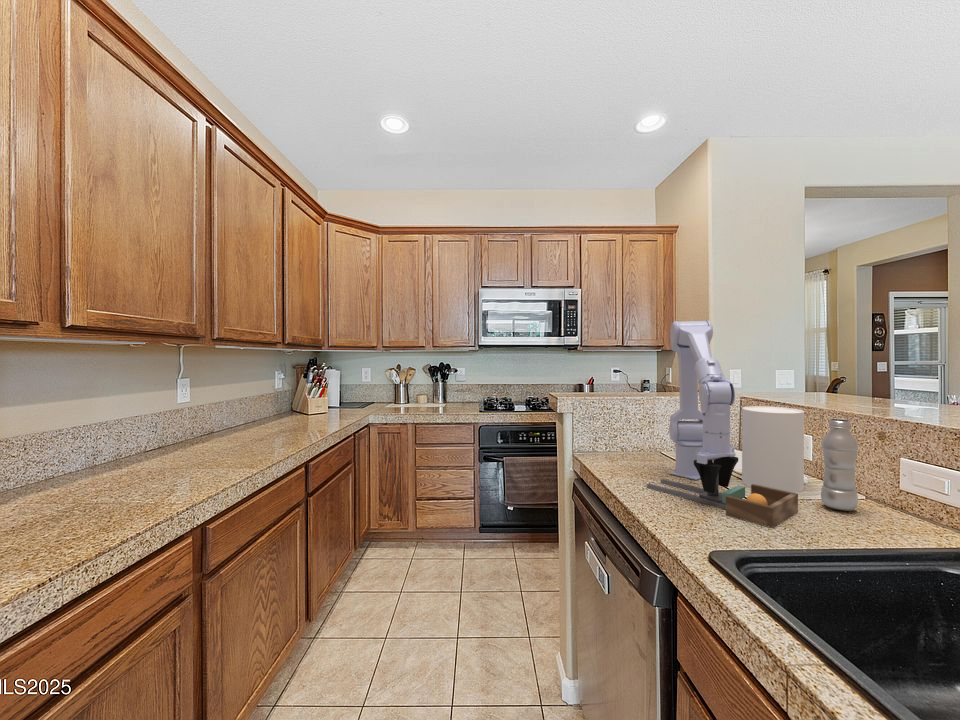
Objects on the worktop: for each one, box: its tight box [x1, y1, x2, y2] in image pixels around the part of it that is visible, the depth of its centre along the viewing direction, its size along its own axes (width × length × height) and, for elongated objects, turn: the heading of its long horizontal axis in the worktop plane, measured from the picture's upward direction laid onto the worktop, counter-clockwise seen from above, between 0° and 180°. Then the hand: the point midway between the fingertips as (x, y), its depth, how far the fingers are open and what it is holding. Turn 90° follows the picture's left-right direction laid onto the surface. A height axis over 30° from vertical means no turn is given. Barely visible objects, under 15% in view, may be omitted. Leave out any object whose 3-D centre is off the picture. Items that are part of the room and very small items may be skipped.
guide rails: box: [646, 478, 726, 510], centre depth 107 cm, size 7×20×1 cm, turn 37°
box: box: [725, 484, 799, 528], centre depth 95 cm, size 14×9×4 cm, turn 127°
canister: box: [741, 405, 805, 494], centre depth 114 cm, size 14×14×20 cm
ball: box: [745, 493, 767, 505], centre depth 95 cm, size 4×4×4 cm
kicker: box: [698, 472, 746, 504], centre depth 102 cm, size 8×8×7 cm
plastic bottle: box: [820, 418, 859, 512], centre depth 96 cm, size 6×7×20 cm
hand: (716, 489), depth 102 cm, fingers open, 6 cm apart
